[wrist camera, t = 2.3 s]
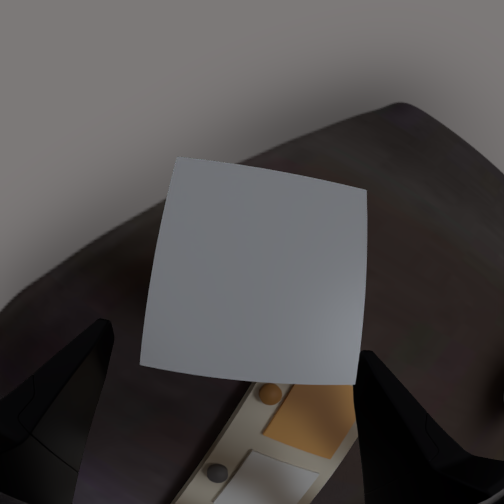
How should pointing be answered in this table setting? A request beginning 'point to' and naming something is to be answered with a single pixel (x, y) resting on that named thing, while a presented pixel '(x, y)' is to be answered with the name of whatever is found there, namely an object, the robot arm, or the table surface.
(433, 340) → the table surface
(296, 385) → the switch board
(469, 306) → the table surface
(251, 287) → the block
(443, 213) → the table surface
